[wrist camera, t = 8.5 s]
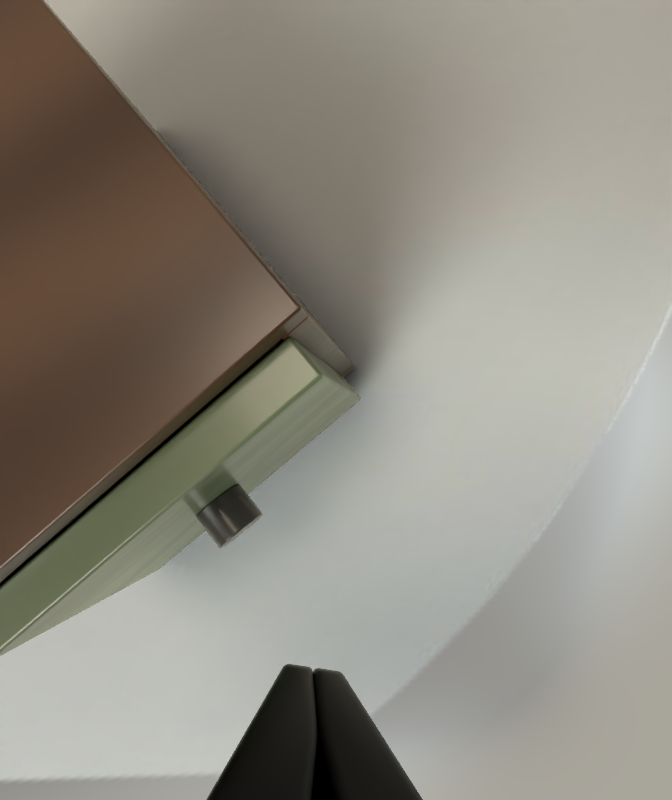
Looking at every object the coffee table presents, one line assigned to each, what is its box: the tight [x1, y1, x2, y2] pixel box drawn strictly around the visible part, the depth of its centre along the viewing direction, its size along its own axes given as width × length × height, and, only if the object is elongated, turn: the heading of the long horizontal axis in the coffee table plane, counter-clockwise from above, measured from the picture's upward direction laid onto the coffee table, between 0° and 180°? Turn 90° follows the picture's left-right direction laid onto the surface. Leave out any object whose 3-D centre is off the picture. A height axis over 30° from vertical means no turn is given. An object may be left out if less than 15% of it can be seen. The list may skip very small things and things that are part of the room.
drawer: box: [0, 337, 360, 656], centre depth 17 cm, size 14×10×9 cm
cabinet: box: [0, 0, 355, 586], centre depth 18 cm, size 14×12×11 cm
